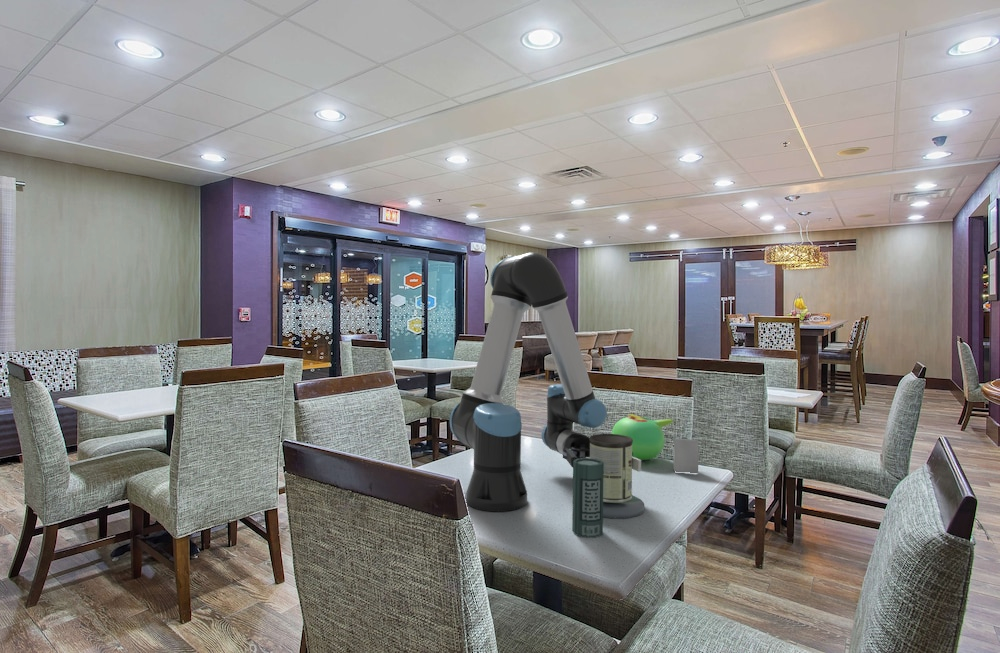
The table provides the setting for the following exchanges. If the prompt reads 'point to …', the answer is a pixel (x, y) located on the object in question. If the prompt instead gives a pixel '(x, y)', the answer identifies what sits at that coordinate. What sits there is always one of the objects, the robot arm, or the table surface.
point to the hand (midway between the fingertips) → (620, 467)
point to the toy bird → (643, 435)
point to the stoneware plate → (623, 509)
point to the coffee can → (614, 465)
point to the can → (587, 497)
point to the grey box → (685, 455)
